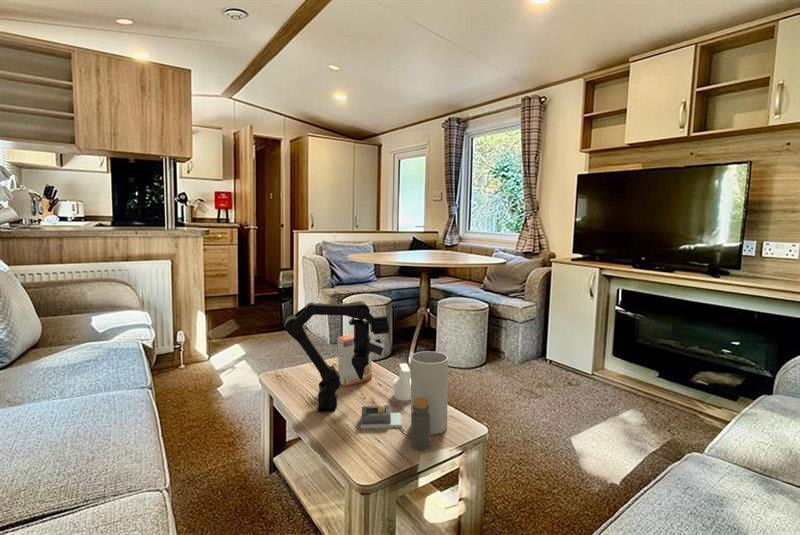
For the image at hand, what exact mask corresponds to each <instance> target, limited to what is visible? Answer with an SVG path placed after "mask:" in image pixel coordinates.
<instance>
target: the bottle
mask: <svg viewBox="0 0 800 535" xmlns="http://www.w3.org/2000/svg"><path fill="white" fill-rule="evenodd" d="M413 402H414V405H413V410H414V412H412V418H411V417H410V426H411V428H410V431H411V442H410V443H411V447H412V449H413V450H416V451H425V450H426V451H427V450H428V449H430V445H431V444H430V443H431V435H430V414H429V412H427V411H428V410H429V406H428V400H427V399H425V398H416V399H414V400H413Z"/></svg>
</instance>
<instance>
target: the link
mask: <svg viewBox="0 0 800 535" xmlns="http://www.w3.org/2000/svg"><path fill="white" fill-rule="evenodd" d="M384 405H385V413H378V405H369V406H367V405H366V406H361V419H362V424H377V423H391V415H390V413H391V407H390V404H384Z"/></svg>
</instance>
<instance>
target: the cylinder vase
mask: <svg viewBox="0 0 800 535" xmlns="http://www.w3.org/2000/svg"><path fill="white" fill-rule="evenodd" d="M448 371H449V357H448V355H447V354H445V353H443V352H439V351H431V350H430V351H429V350H427V351H426V350H425V351H418V352H415V353H413V354H412V355H411V356H410V378H411V400H410V419H411V418H412V412H414V410H413V405H414V402H413V400H414V399H416V398H425V399H427V400H428V406H429V410H428V411H427V412H429V414H430V436H434V435H439V434H442V433H444V432H445V431H446V429H447V428H448V391H449V390H448V388H449V387H448V386H449V384H448V381H449V379H448V378H449V376H448V375H449V372H448Z"/></svg>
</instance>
